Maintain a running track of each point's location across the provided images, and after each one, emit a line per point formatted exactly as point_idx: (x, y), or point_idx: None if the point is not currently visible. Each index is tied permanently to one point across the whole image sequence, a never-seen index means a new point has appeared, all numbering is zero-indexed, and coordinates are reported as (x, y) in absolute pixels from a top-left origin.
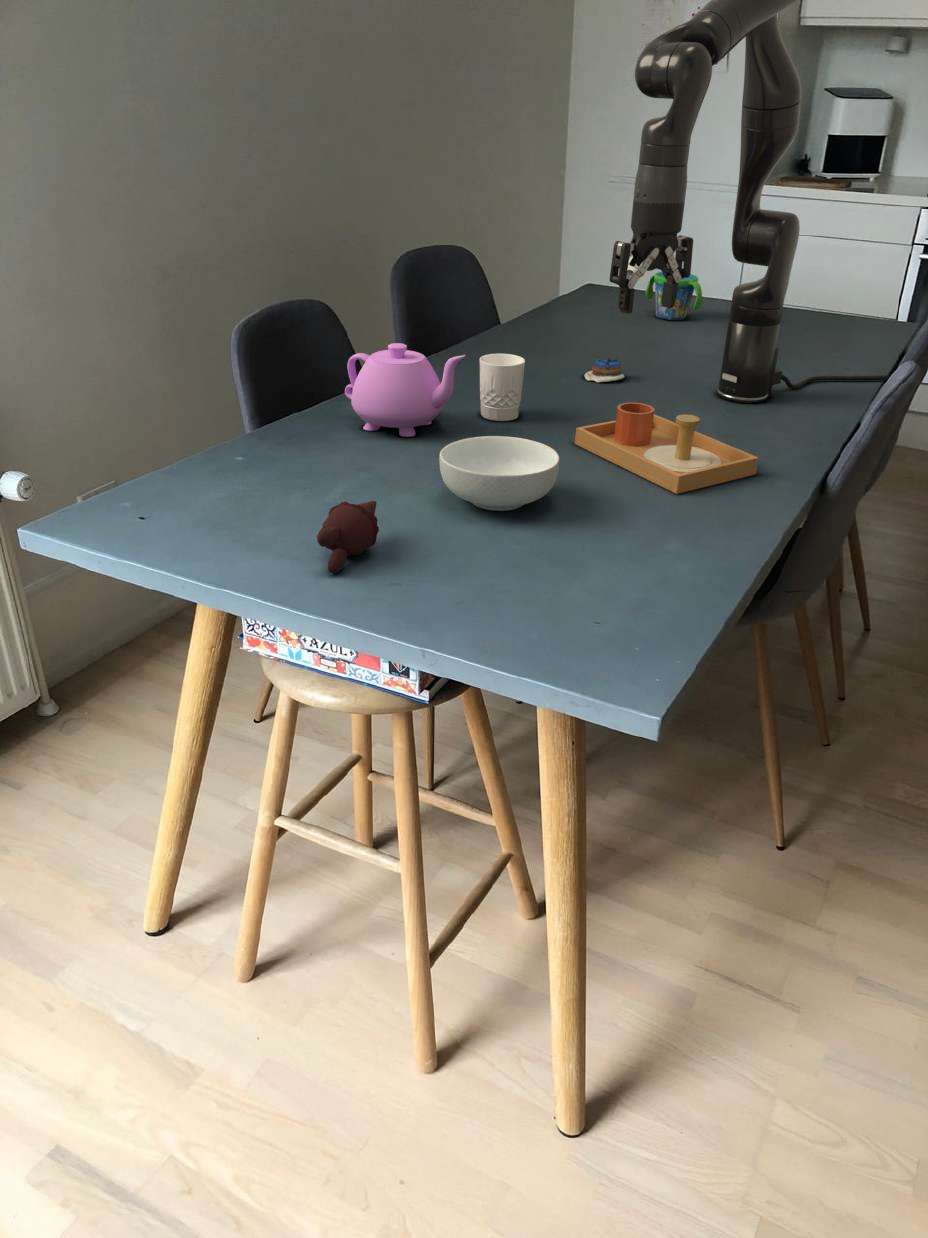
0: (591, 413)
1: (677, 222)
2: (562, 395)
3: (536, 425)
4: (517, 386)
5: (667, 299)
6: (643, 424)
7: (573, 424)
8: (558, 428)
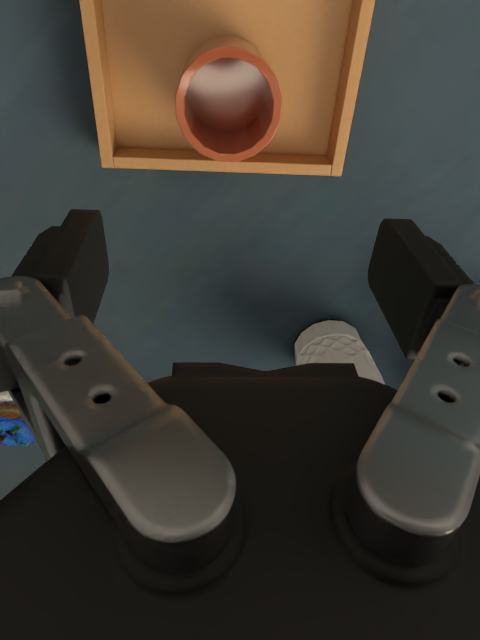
0: (169, 287)
1: None
2: (155, 376)
3: (311, 282)
4: (338, 359)
5: (95, 255)
6: (242, 44)
7: (246, 255)
8: (288, 251)
